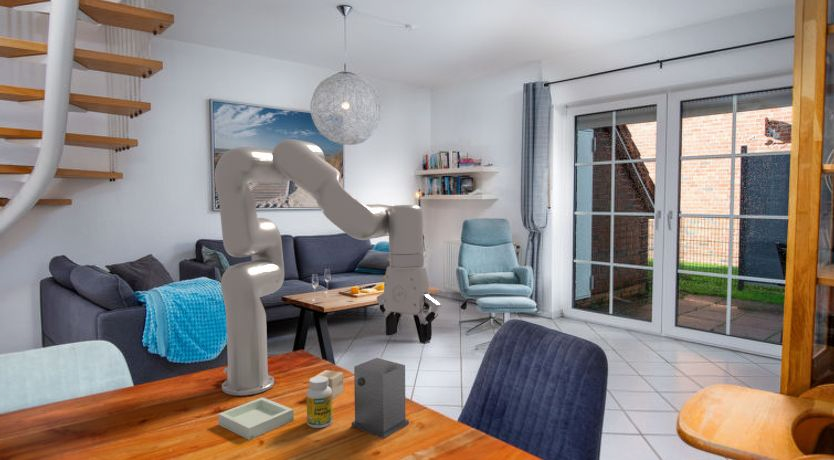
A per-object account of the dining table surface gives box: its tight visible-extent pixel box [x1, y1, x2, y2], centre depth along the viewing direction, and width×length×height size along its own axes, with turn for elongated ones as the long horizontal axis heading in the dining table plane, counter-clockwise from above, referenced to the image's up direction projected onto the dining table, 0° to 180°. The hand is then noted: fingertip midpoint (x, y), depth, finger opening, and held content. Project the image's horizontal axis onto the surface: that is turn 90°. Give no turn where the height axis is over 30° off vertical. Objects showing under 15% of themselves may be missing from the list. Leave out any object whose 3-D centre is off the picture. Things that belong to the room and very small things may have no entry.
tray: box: [217, 396, 295, 441], centre depth 108 cm, size 11×11×2 cm
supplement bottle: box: [305, 376, 334, 429], centre depth 108 cm, size 5×5×10 cm
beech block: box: [314, 369, 344, 401], centre depth 124 cm, size 5×5×5 cm
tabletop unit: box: [351, 357, 410, 439], centre depth 107 cm, size 9×8×13 cm
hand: (408, 337), depth 113 cm, fingers open, 9 cm apart
